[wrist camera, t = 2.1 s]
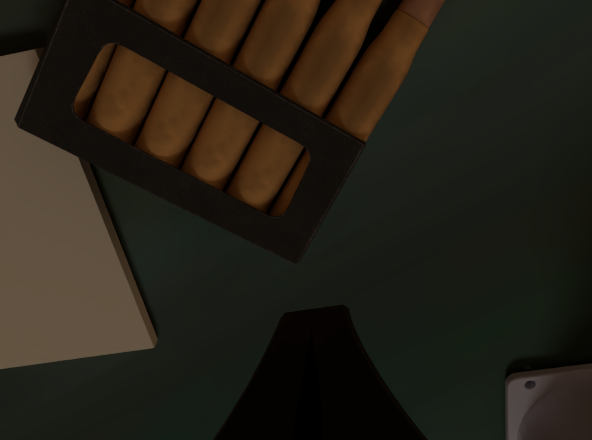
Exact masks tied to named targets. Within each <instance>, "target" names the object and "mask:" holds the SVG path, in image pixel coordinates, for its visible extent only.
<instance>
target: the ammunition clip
mask: <svg viewBox="0 0 592 440" xmlns="http://www.w3.org/2000/svg"><path fill="white" fill-rule="evenodd" d="M197 1H198V0H136V2H134V0H65V1H64V3H63V5H62V8H61V10H60V12H59V15H58V17H57V20H56V22H55V24H54V27H53V29H52V31H51V34H50V36H49V38H48V41H47V43H46V45H45V48H44V50H43V52H42V55H41V57H40V60H39V62H38V64H37V67H36V69H35V71H34V74H33V76H32V78H31V81H30V83H29V85H28V88H27V90H26V93H25V95H24V97H23V100H22V102H21V104H20V107H19V109H18V111H17V114H16V116H15V118H14V121H15V122H16V124H17V127H18V128H20V129H22V130H24V131H26V132H28V133H30V134H32V135H34V136H36V137H38V138H40V139H42V140H44V141H46V142H48V143H50V144H52V145H54V146H56V147H58V148H60V149H62V150H65V151H67V152H69V153H71V154H73V155H75V156H77V157H79V158H81V159H83V160H85V161H87V162H89V163H91V164H93V165H95V166H97V167H99V168H101V169H103V170H105V171H107V172H109V173H111V174H113V175H115V176H117V177H119V178H121V179H123V180H126V181H128V182H130V183H132V184H134V185H136V186H138V187H140V188H142V189H144V190H146V191H148V192H150V193H152V194H154V195H156V196H158V197H160V198H162V199H164V200H166V201H168V202H170V203H172V204H174V205H176V206H178V207H180V208H182V209H184V210H187V211H189V212H191V213H193V214H195V215H197V216H199V217H201V218H203V219H205V220H207V221H209V222H211V223H213V224H215V225H217V226H219V227H221V228H223V229H225V230H227V231H229V232H231V233H233V234H235V235H237V236H239V237H241V238H243V239H245V240H248V241H250V242H252V243H254V244H256V245H258V246H260V247H262V248H264V249H266V250H268V251H270V252H272V253H274V254H276V255H278V256H280V257H282V258H284V259H286V260H288V261H290V262H292V263H294V264H297V263H299V262H300V261H301V259H302V257H303V255H304V254H305V252H306V250H307V248H308V247H309V245H310V243H311V241H312V240H313V238H314V236H315V234H316V232H317V231H318V229H319V227H320V225H321V224H322V222H323V220H324V218H325V217H326V215H327V213H328V211H329V210H330V208H331V206H332V204H333V202H334V201H335V199H336V197H337V195H338V194H339V192H340V190H341V188H342V187H343V185H344V183H345V181H346V179H347V178H348V176H349V174H350V172H351V171H352V169H353V167H354V165H355V164H356V162H357V160H358V158H359V157H360V155H361V153H362V151H363V149H364V148H365V146H366V143H365V142H366V140H367V139H368V137H369V135H370V134H371V132H372V130H373V129H374V127H375V126H376V124H377V122H378V121H379V119H380V118H381V116H382V114H383V113H384V111H385V110H386V108H387V106H388V105H389V103H390V102H391V100H392V98H393V97H394V95H395V93H396V92H397V90H398V89H399V87H400V85H401V84H402V82H403V81H404V79H405V77H406V75H407V73H408V71H409V69H410V66H411V64H412V61H413V59H414V56H415V54H416V51H417V49H418V48H419V46H420V44H421V42H422V41H423V39H424V37H425V35H426V34H427V32H428V30H429V29H428V28H429V27H430V25H431V23H432V22H433V20H434V18H435V17H436V15H437V13H438V12H439V10H440V8H441V7H442V5H443V3H444V1H445V0H402V2H401V4H400V5H399V7H398V9H396V10H395V12H394V13H393V15H392V16H391V18H390V19H389V21H388V22H387V24H386V26H385V27H384V29H383V30H382V31H381V33H380V34H379V35H378V36H377V37H376V38H375V40H374V41H373V42H372V43H371V44H370V45H369V47H368V48H367V49H366V51H365V52H364V54H363V55H362V57H361V58H360V60H359V62H358V63H357V65H356V67H355V69H354V70H353V72H352V74H351V75H350V77H349V79H348V80H347V82H346V84H345V85H344V87H343V89H342V90H341V92H340V94H339V95H338V97H337V99H336V100H335V102H334V104H333V105H332V107H331V109H330V111H329V112H328V114H327V113H326V112H324V111H325V110H326V108H327V106H328V105H329V103H330V101H331V99H332V98H333V96H334V94H335V92H336V91H337V89H338V87H339V85H340V84H341V82H342V80H343V79H344V77H345V75H346V73H347V72H348V70H349V68H350V66H351V65H352V63H353V61H354V59H355V58H356V56H357V54H358V53H359V51H360V49H361V47H362V44H363V42H364V39H365V36H366V34H367V31H368V28H369V25H370V23H371V21H372V19H373V17H374V15H375V13H376V11H377V10H378V8H379V6H380V4H381V2H382V0H336V1H335V2H334V3H333V5H332V6H331V7H330V8H329V9H328V11H327V12H326V13H325V14H324V16H323V17H322V18H321V19H320V21H319V23H318V24H317V26H316V27H315V29H314V31H313V33H312V35H311V37H310V38H309V40H308V42H307V44H306V46H305V47H304V49H303V51H302V53H301V55H300V57H299V58H298V60H297V62H296V64H295V66H294V67H293V69H292V71H291V73H290V75H289V77H288V78H287V80H286V82H285V84H284V86H283V87H280V86H279V85H280V83H281V81H282V79H283V77H284V75H285V73H286V71H287V69H288V68H289V66H290V64H291V62H292V60H293V58H294V56H295V54H296V53H297V51H298V49H299V47H300V45H301V43H302V41H303V39H304V38H305V36H306V34H307V32H308V30H309V28H310V26H311V24H312V22H313V20H314V18H315V16H316V13H317V10H318V7H319V4H320V1H321V0H265V2H264V4H263V6H262V8H261V10H260V12H259V14H258V16H257V18H256V20H255V22H254V24H253V26H252V28H251V30H250V32H249V34H248V36H247V38H246V40H245V42H244V44H243V46H242V47H241V49H240V51H239V53H238V55H237V57H236V59H235V60H234V59H233V57H234V55H235V53H236V51H237V49H238V47H239V45H240V43H241V41H242V39H243V36H244V34H245V32H246V30H247V28H248V26H249V24H250V22H251V20H252V18H253V16H254V14H255V12H256V10H257V8H258V6H259V4H260V2H261V0H201V2H200V4H199V7H198V9H197V11H196V13H195V15H194V17H193V20H192V22H191V24H190V26H189V28H188V30H187V32H185V31H184V30H185V27H186V25H187V23H188V21H189V19H190V16H191V14H192V12H193V10H194V7H195V5H196V3H197ZM114 52H115V53H114ZM113 54H114V55H113ZM112 56H113V57H112ZM111 58H112V60H111ZM110 60H111V62H110ZM109 62H110V65H109ZM108 65H109V67H108ZM107 67H108V69H107ZM106 70H107V72H106ZM166 70H167V71H169V72H168V74H167V76H166V78H165V80H164V82H163V85H162V87H161V89H160V91H159V93H158V95H157V98H156V100H155V102H154V104H153V106H152V108H151V111H150V113H149V115H148V117H147V119H146V121H145V124H144V126H143V128H142V130H141V131H140V128H141V126H142V124H143V122H144V120H145V117H146V115H147V113H148V111H149V108H150V106H151V104H152V102H153V99H154V97H155V95H156V93H157V90H158V88H159V86H160V84H161V81H162V79H163V77H164V75H165V72H166ZM105 72H106V74H105ZM104 74H105V77H104ZM103 77H104V79H103ZM102 79H103V81H102ZM101 82H102V84H101ZM100 84H101V86H100ZM99 87H100V89H99ZM98 89H99V91H98ZM97 92H98V93H97ZM96 94H97V96H96ZM95 97H96V98H95ZM214 97H216V99H215V101H214V103H213V105H212V107H211V109H210V111H209V113H208V115H207V117H206V119H205V121H204V123H203V125H202V127H201V129H200V131H199V132H198V134H197V136H196V138H195V140H194V142H193V144H192V146H191V148H190V150H189V152H188V154H187V155H186V153H187V151H188V149H189V147H190V145H191V143H192V141H193V139H194V137H195V135H196V133H197V130H198V128H199V126H200V124H201V122H202V120H203V118H204V116H205V114H206V112H207V110H208V108H209V106H210V104H211V102H212V100H213V98H214ZM94 99H95V101H94ZM259 122H261V123H263V124H262V126H261V127H260V129H259V131H258V133H257V135H256V136H255V138H254V140H253V142H252V144H251V145H250V147H249V149H248V151H247V153H246V155H245V156H244V158H243V160H242V162H241V164H240V165H239V167H238V169H237V171H236V173H235V175H234V176H233V178H231V177H230V176H231V175H232V173H233V171H234V169H235V167H236V165H237V163H238V161H239V160H240V158H241V156H242V154H243V152H244V150H245V148H246V146H247V145H248V143H249V141H250V139H251V137H252V135H253V133H254V131H255V130H256V128H257V126H258V124H259ZM304 147H305V148H306V151H305V153H304V154H303V156H302V158H301V159H300V161H299V163H298V164H297V166H296V168H295V169H294V171H293V173H292V174H291V176H290V178H289V179H288V181H287V183H286V184H285V186H284V188H283V189H282V191H281V193H280V195H279V196H278V198H277V199H274V198H275V196H276V195H277V193H278V191H279V189H280V188H281V186H282V184H283V182H284V181H285V179H286V177H287V176H288V174H289V172H290V170H291V169H292V167H293V165H294V163H295V162H296V160H297V158H298V156H299V155H300V153H301V151H302V150H303V148H304Z"/></svg>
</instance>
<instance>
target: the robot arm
mask: <svg viewBox="0 0 592 440" xmlns="http://www.w3.org/2000/svg"><path fill="white" fill-rule="evenodd" d="M527 381H530V382H528V383H526V382H527ZM505 423H506V440H592V363H591V364H583V365H575V366H566V367H558V368H550V369H542V370H534V371H526V372H518V373H513V374H511V375H509V376H508V377H507V378H506V381H505ZM213 440H427V438H426V437H425V436H424V435H423V434H422V432H421V431H420V430H419V429H418V427H417V426H416V425H415V424H414V422H413V421H412V420H411V418H410V417H409V416H408V415H407V413H406V412H405V411H404V409H403V408H402V406H401V405H400V404H399V402H398V401H397V399H396V398H395V397H394V395H393V394H392V392H391V391H390V390H389V388H388V387H387V385H386V383H385V382H384V380H383V379H382V377H381V376H380V374H379V372H378V371H377V369H376V368H375V366H374V364H373V363H372V361H371V359H370V358H369V356H368V354H367V352H366V350H365V349H364V347H363V345H362V343H361V341H360V339H359V337H358V335H357V332H356V330H355V328H354V325H353V323H352V320H351V316H350V312H349V308H347V307H346V306H344V305H337V306H330V307H323V308H316V309H309V310H301V311H294V312H287V313H284V315H283V316H282V317H281V318H280V321H279V323H278V326H277V328H276V330H275V332H274V335H273V337H272V339H271V341H270V343H269V345H268V347H267V349H266V351H265V353H264V355H263V357H262V359H261V361H260V363H259V365H258V367H257V369H256V371H255V372H254V374H253V376H252V378H251V380H250V382H249V383H248V385H247V387H246V389H245V390H244V392H243V394H242V396H241V397H240V399H239V400H238V402H237V404H236V405H235V407H234V408H233V410H232V412H231V413H230V415H229V416H228V418H227V420H226V421H225V423H224V424H223V426H222V427H221V429H220V430H219V432H218V433H217V435H216V436H215V438H214V439H213Z"/></svg>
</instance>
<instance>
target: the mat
mask: <svg viewBox="0 0 592 440" xmlns="http://www.w3.org/2000/svg"><path fill="white" fill-rule="evenodd" d="M43 50H44V47H42V48H38V49H33V50H28V51H23V52H18V53H13V54H9V55H4V56H0V369H4V368H11V367H18V366H25V365H33V364H40V363H47V362H54V361H62V360H69V359H76V358H83V357H91V356H98V355H105V354H113V353H120V352H127V351H134V350H142V349H149V348H154V347H155V344H156V342H157V340H158V339H157V336H156V333H155V331H154V328H153V326H152V323H151V321H150V318H149V316H148V313H147V310H146V308H145V305H144V303H143V300H142V298H141V295H140V292H139V290H138V287H137V285H136V282H135V280H134V277H133V275H132V272H131V269H130V267H129V264H128V262H127V259H126V257H125V254H124V252H123V249H122V246H121V244H120V241H119V239H118V236H117V234H116V231H115V229H114V226H113V223H112V221H111V218H110V216H109V213H108V211H107V208H106V206H105V203H104V200H103V198H102V195H101V193H100V190H99V188H98V185H97V182H96V180H95V177H94V175H93V172H92V170H91V167H90V165H89V162H87V161H85V160H83V159H81V158H79V157H77V156H75V155H73V154H71V153H69V152H67V151H65V150H62V149H60V148H58V147H56V146H54V145H52V144H50V143H48V142H46V141H44V140H42V139H40V138H38V137H36V136H34V135H32V134H30V133H28V132H26V131H24V130H22V129H20V128H18V127H17V124H16V122H15V121H14V118H15V116H16V114H17V111H18V109H19V107H20V104H21V102H22V100H23V97H24V95H25V93H26V90H27V88H28V85H29V83H30V81H31V78H32V76H33V74H34V71H35V69H36V67H37V64H38V62H39V60H40V57H41V55H42V52H43Z"/></svg>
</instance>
